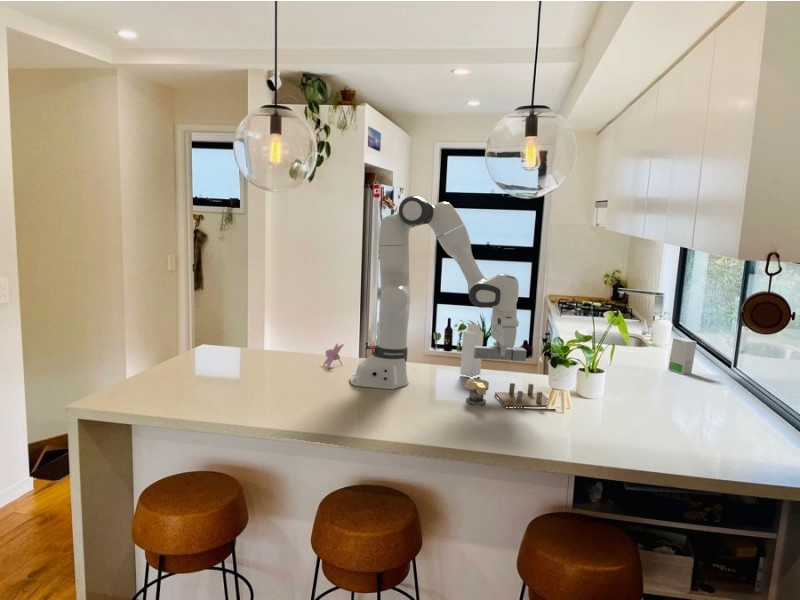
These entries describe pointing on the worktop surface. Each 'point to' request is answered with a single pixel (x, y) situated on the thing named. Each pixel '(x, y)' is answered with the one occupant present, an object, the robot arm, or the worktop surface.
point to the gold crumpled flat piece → (477, 385)
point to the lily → (333, 355)
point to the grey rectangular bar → (493, 353)
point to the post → (475, 398)
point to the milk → (471, 350)
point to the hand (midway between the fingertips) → (500, 354)
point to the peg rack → (522, 398)
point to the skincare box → (682, 355)
